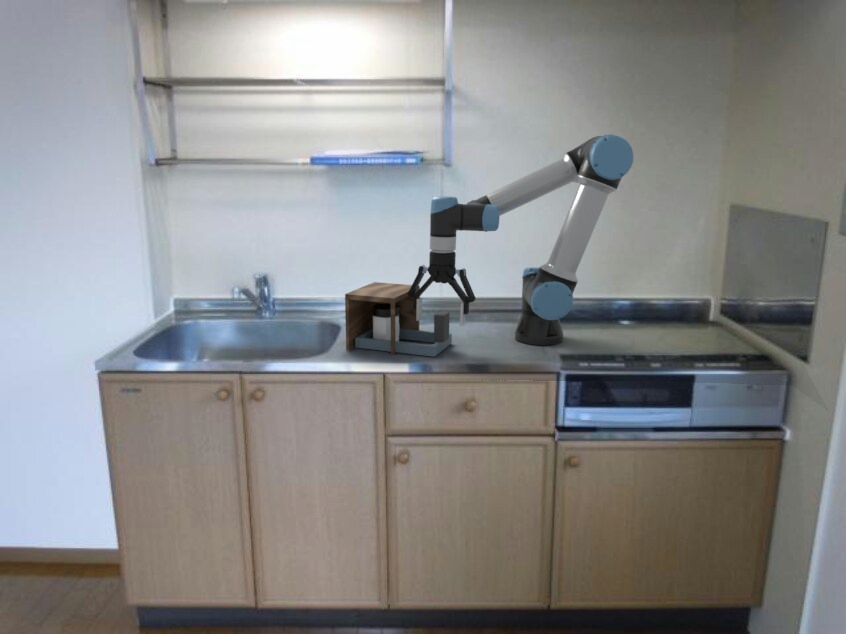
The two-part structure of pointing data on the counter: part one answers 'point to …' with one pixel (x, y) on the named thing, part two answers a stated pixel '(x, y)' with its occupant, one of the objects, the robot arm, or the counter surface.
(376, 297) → the open box
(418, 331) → the tray
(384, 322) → the jar
